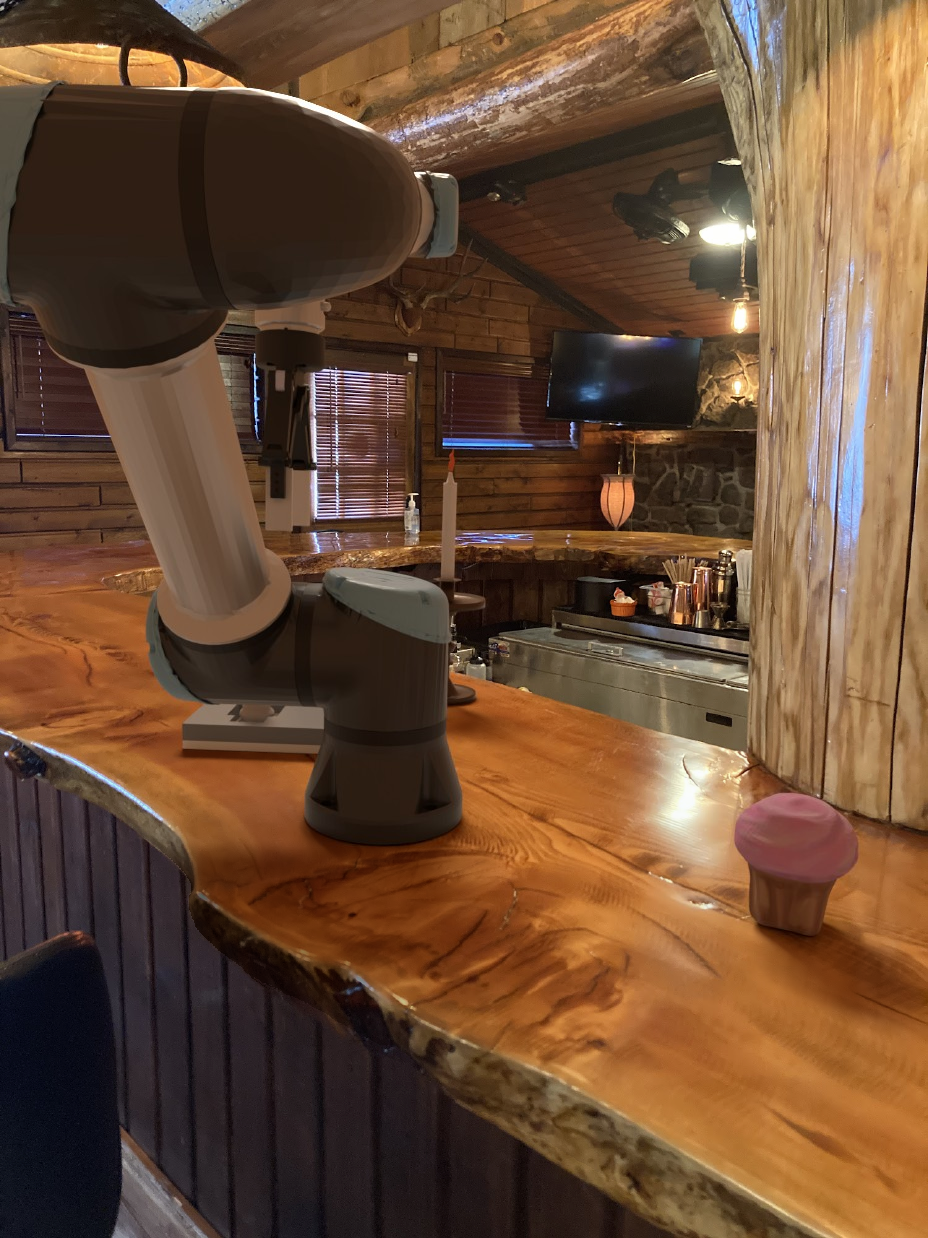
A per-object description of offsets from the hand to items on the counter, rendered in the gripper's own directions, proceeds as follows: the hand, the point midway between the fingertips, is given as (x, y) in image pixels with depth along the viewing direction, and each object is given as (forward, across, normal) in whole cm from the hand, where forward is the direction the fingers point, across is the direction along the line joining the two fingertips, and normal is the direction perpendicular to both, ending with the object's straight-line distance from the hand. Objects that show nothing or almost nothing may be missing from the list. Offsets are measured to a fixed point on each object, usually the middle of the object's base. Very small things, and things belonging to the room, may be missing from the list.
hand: (289, 528), depth 103 cm
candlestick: (+25, +25, -18) cm, 40 cm away
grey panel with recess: (+25, +6, -1) cm, 26 cm away
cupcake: (+27, -38, -44) cm, 64 cm away
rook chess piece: (+25, +6, +5) cm, 26 cm away
